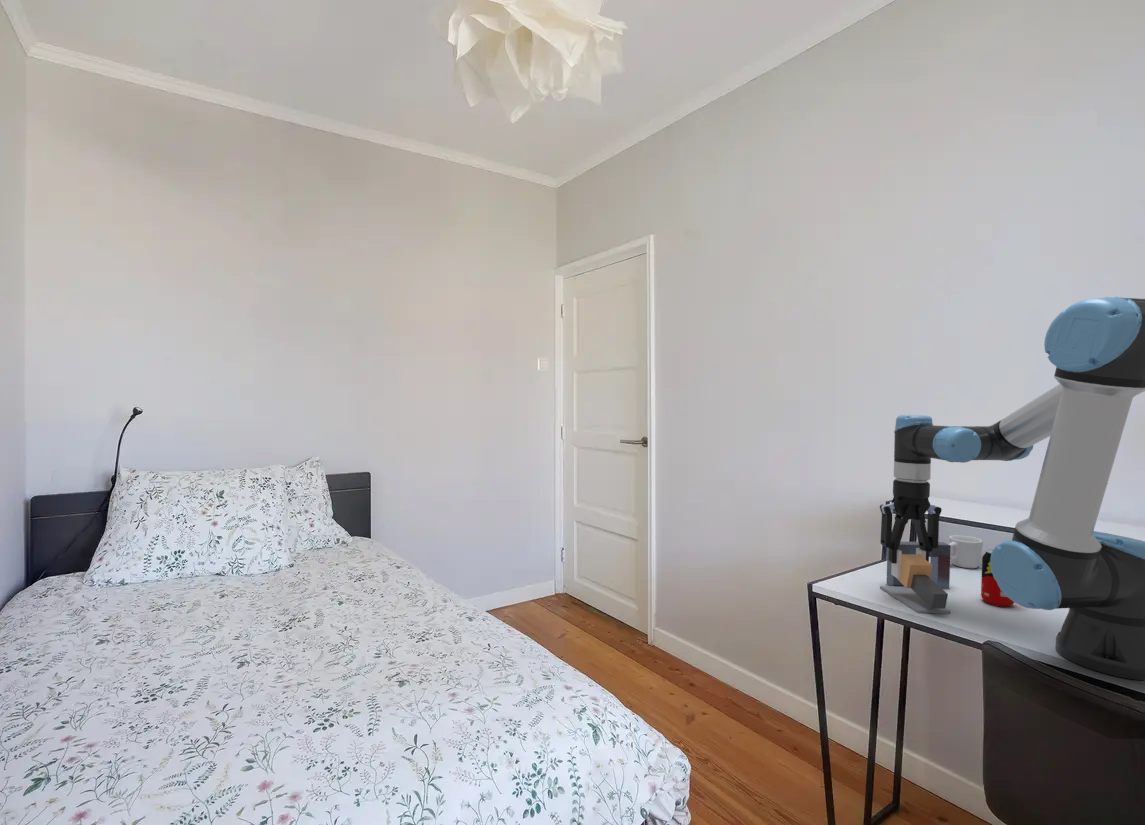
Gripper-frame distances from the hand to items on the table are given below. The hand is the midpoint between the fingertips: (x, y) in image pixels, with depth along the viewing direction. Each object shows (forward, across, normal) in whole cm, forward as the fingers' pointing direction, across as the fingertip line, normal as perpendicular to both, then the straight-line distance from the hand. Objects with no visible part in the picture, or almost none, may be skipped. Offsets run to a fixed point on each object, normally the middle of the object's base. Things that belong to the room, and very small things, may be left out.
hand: (907, 576), depth 135 cm
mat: (+5, 0, +2) cm, 5 cm away
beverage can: (+5, -19, +3) cm, 20 cm away
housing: (+5, -7, -8) cm, 12 cm away
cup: (+5, -30, -26) cm, 40 cm away
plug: (+2, 0, +5) cm, 6 cm away
